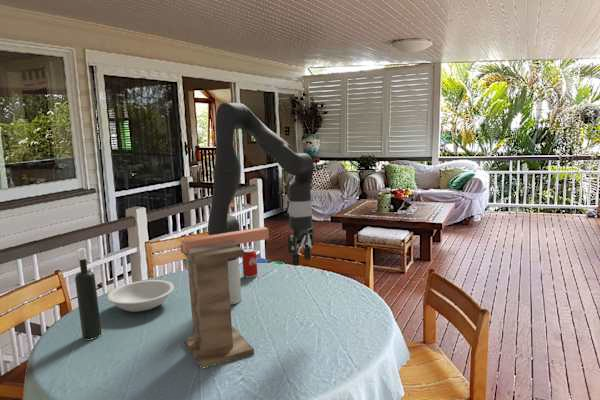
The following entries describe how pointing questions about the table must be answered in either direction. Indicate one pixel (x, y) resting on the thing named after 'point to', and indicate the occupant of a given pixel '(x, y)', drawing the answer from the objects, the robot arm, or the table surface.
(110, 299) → the soup bowl
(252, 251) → the beverage can
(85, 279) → the wine bottle
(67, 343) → the table surface
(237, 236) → the stick
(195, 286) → the wooden pedestal
